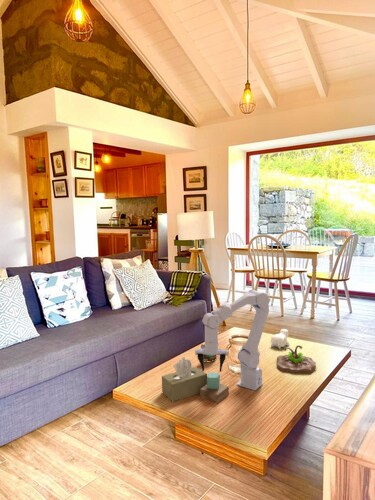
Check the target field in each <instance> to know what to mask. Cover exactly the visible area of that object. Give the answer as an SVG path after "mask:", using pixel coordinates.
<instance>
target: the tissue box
mask: <svg viewBox="0 0 375 500" xmlns="http://www.w3.org/2000/svg"><path fill="white" fill-rule="evenodd" d="M173 368H174V370H175V372H172V373H168V374H164V375H161V393H162V392H163V393H164V394H165V395H166V396H167V397H168V398H167V397H166V396H165V395H164V394H163V393H162V394H163V395H164V396H165V397H166V398H167V399H168V400H170V399H171V400H172V401H174V402H176V401H175V400H177V401H179V400H178V399H181V400H183V399H182V398H184V399H186V398H185V397H187V398H189V397H188V396H190V397H192V395H193V396H196V395H199V394H200V389H201V388H202V387H204V386H205V385H207V377H208V373H206V372H205V371H202V369H200V368H199V367H197V366H192V361H191V359H186V358H185V357H182V358H180V359H179V360H178V361H177V363H176V362H175V364H174V365H173ZM198 393H199V394H198ZM195 394H196V395H195ZM171 400H170V401H171ZM172 401H171V402H172Z"/></svg>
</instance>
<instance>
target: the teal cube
mask: <svg viewBox="0 0 375 500" xmlns="http://www.w3.org/2000/svg"><path fill="white" fill-rule="evenodd" d="M220 377H221V372H208V373H207V388H209V389H219V386H220V384H221V378H220Z"/></svg>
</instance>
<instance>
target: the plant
mask: <svg viewBox="0 0 375 500" xmlns="http://www.w3.org/2000/svg"><path fill="white" fill-rule="evenodd" d="M298 348H299V350H302V349H303V346H302V345H297V346H296V347H295V349H294V350H293V349H292V348H290V347H286V348H284V349H283V351H284V352H286V351H288V350H289V351H288V354H284V355H278V356H276V368H277V369H278V370H279V371H281V372H283V373H290V374H292V375H294V374H297V375H298V374H300V375H301V374H302V375H303V374H304V375H308V374H309V375H310V374H312V373H313V372H314V371H316V370H317V368H316V367H317V365H316V361H314V360H313V358H312V357H309V356H305V355H303V353H302V352H299V353H298V351H297V350H298ZM315 369H316V370H315Z"/></svg>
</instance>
